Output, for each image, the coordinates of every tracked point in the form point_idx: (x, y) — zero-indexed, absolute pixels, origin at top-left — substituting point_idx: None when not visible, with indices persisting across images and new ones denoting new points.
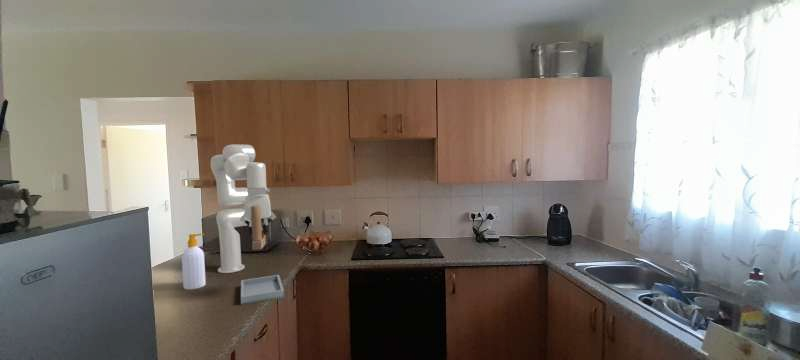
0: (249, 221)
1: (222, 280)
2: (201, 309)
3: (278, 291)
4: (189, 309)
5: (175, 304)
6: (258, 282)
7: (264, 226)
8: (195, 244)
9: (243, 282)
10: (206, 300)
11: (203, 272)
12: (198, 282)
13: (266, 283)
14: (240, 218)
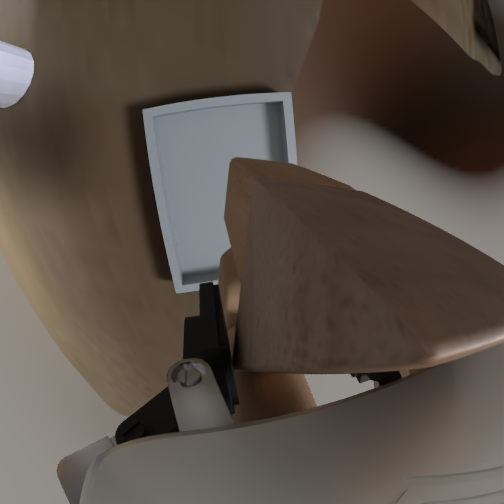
0: (177, 419)
1: (78, 28)
2: (82, 278)
3: None
4: (54, 268)
5: (9, 221)
6: (208, 108)
7: (355, 374)
8: None
9: (154, 140)
10: (68, 214)
11: (7, 71)
12: (12, 96)
13: (239, 123)
14: (73, 491)
